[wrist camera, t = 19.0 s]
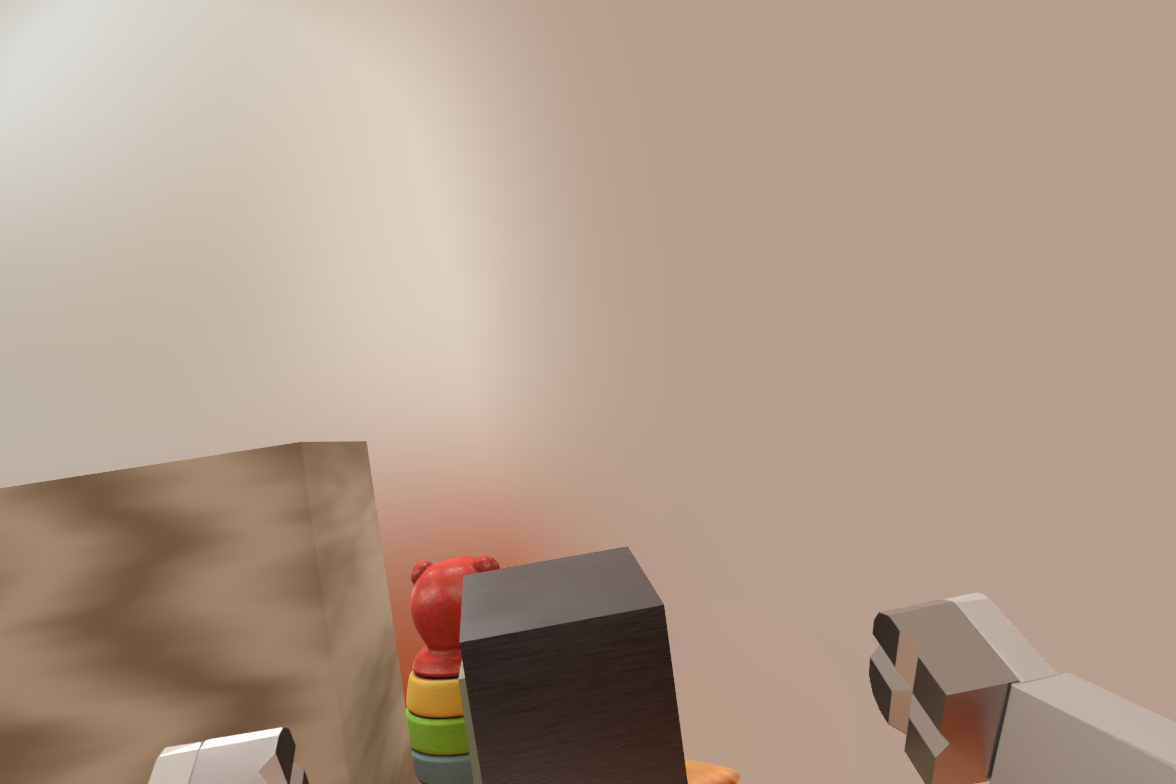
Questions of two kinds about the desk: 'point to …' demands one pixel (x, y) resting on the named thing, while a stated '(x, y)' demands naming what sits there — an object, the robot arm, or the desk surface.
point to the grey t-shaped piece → (570, 673)
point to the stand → (199, 617)
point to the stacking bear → (439, 671)
